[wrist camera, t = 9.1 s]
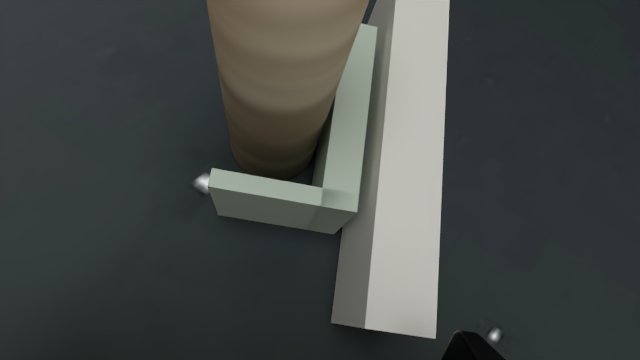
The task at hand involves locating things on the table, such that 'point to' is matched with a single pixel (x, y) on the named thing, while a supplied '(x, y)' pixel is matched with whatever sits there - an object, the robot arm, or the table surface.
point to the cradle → (330, 164)
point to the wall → (399, 177)
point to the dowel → (280, 76)
